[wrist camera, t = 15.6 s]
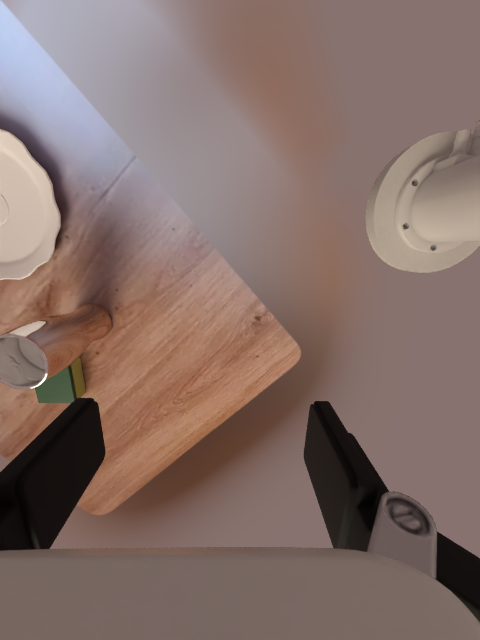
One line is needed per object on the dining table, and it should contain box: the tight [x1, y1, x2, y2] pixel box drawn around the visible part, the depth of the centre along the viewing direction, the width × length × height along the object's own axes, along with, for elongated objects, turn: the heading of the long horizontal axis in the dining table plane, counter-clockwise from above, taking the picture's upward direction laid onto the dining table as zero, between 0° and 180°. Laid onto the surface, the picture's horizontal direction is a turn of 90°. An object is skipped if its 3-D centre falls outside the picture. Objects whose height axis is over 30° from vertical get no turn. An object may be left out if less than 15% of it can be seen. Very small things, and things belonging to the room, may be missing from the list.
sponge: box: [35, 357, 86, 403], centre depth 41 cm, size 9×6×3 cm, turn 178°
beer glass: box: [0, 304, 112, 389], centre depth 33 cm, size 7×7×15 cm
